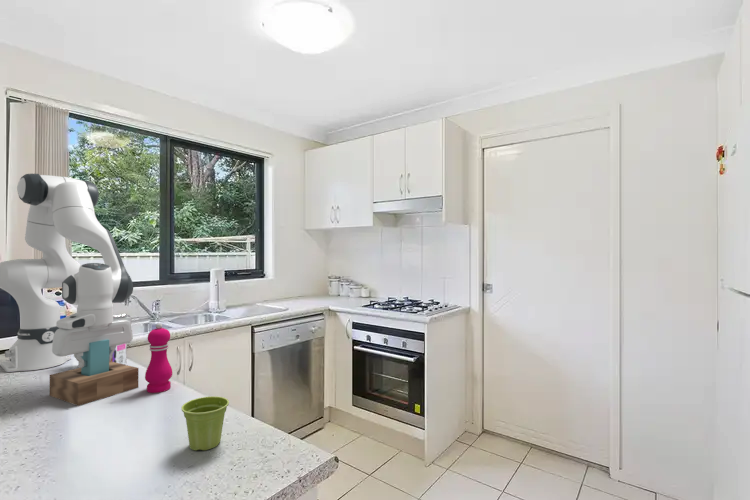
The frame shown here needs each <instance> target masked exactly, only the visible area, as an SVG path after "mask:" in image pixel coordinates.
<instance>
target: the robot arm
mask: <svg viewBox="0 0 750 500" xmlns="http://www.w3.org/2000/svg"><path fill="white" fill-rule="evenodd" d="M16 189H17V191H16V192H17V194H18V198H19V200H21V201H22V202H23V203H25V204H27V205H30V206H29V210H28V213H27V218H26V226H25V234H24V235H25V236H24V240H25V243H26V245H28V246H29V247H30V248H33V249H35V250H36V251H39V252H42V253H41V254H42V258H19V259H12V260H7V261H6V260H5V261H1V262H0V289H1V290H3V291H5V292H6V293H8V294H10V296H12V298H13V299H14V300H15V301H16V304H17V306H18V310H19V323H20V327H19V328H18V332H17V337H16V338H17V339H16V341H15V342H14V343H13V344H12V345H11V346H10V348H9V350H6V351H4V357H5V358H8V360H7V359H6V360H2V361H1V362H0V367H1V368H2V369H3V370H4V371H5V372H6V373H12V372H23V371H25V372H26V371H36V370H44V369H48V368H53V367H56V366H60V365H62V364H65V363H66V362H67V361H69V360H71V359H72V357H71V356H72V355H73V357H74V358H75V360H76V361H77V362H78V368H83V367H87V361H85V360H83V359H82V357H81V356H83V352H87V351H89V343H91V342H96V341H102V340H107V339H108V340H109V361H111V355H112V354H113V352H114V351H115V346H117V345H122V344H126V345H127V344H129V343H131V342H132V341H133V338H134V337H133V327H132V319H133V318H132V317H131V316H130V315H129V314H127V313H122V314H115V315H114V304H119V303H120V304H122V303H124V302H125V301H126V300H128V299H129V298H130V297H131V295H132V294H133V292H134V284H133V280H132V277H131V276H130V274H129V273H128V271H127V269H126V267H125V263H124V261H123V259H122V256H121V253H120V251H119V249H118V246H117V243H116V242H115V239H114V237H113V235H112V233H111V231H110V230H109V229H107V228H105V227H104V226H103V225H102V223H100V221H99V220H98V219H97V216H96V211H95V206H97V204H98V201H99V196H100V195H99V194H100V193H99V188H98V187H97V185H96V184H95V183H94V182H91V181H89V180H84V179H83V180H82V179H81V180H80V179H78V178H73V177H70V176H68V177H67V176H63V175H61V176H59V175H51V174H49V175H48V174H39V173H25V174H23V175H21V177H20V178H19V181H18V183H17V187H16ZM66 239H67V240H69V241H71V242H74V243H77V244H82V245H85V246H87V247H90V248H93V249H94V250H96V251H98V253H100V255H101V257H102V259H103V263H101V262H100V263H99V262H89V263H88V262H87V263H84V264H81V263H80V262H79V261H77V260H76V259H74V258H73V256H72V255H71V254H70V253H69V251H68V249H67V245H66V244H67V242H66ZM55 288H56V289H57V288H59V289H60V288H61V299H63V300H64V301H65V302H66V303H68V304H70V305H75V306H77V307H76V312H74V313H72V314H71V315H68V316H65V317H62V318H61V306H60V304H59V302H57V301H56V300H54V299H51V298H49V297H45V296H44V295H43V293H42V290H43V289H55Z"/></svg>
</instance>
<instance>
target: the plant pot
mask: <svg viewBox="0 0 750 500" xmlns="http://www.w3.org/2000/svg"><path fill="white" fill-rule="evenodd" d="M229 404H230V400H229V399H228V398H226V397H223V396H218V395H217V396H216V395H215V396H211V395H210V396H202V397H198V398H194V399H191V400H189V401H187V402H185V403H184V404H183V405H182V406H181V409H180V410H181V412H182V413H183V416H184V419H185V423H186V428H187V437H188V438H187V439H188V444H189V445H188V447H189V449H191V450H192V451H199V450H202V451H208V450H210V449H213V448H216V447H217V446H219V444H220V442H221V440H222V432H223V426H224V419H225V414H226V412H227V409H228V408H227V407H228V406H229Z"/></svg>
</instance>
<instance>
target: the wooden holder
mask: <svg viewBox="0 0 750 500" xmlns="http://www.w3.org/2000/svg"><path fill="white" fill-rule="evenodd" d="M138 388H139V367H136V366H131V365H127V364H126V365H124V364H120V363H115V362H111V361H109V371H108V372H104V373H100V374H96V375H92V376H85V375H82V374H81V368H79V367H77V368H74V369H68V370H65V371H61V372H60V371H59V372H56V373H51V374H49V389H48V391H49V393H48V394H49V396H50V397H52V398H56V399H58V400H61V401H64V402H66V403H70V404H72V405H75V406H78V407H79V406H83V405H86V404H89V403H90V404H91V403H93V402H96V401H100V400H102V399H106V398H110V397H113V396H117V395H119V394H122V393H125V392H129V391H132V390H134V389H138Z"/></svg>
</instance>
